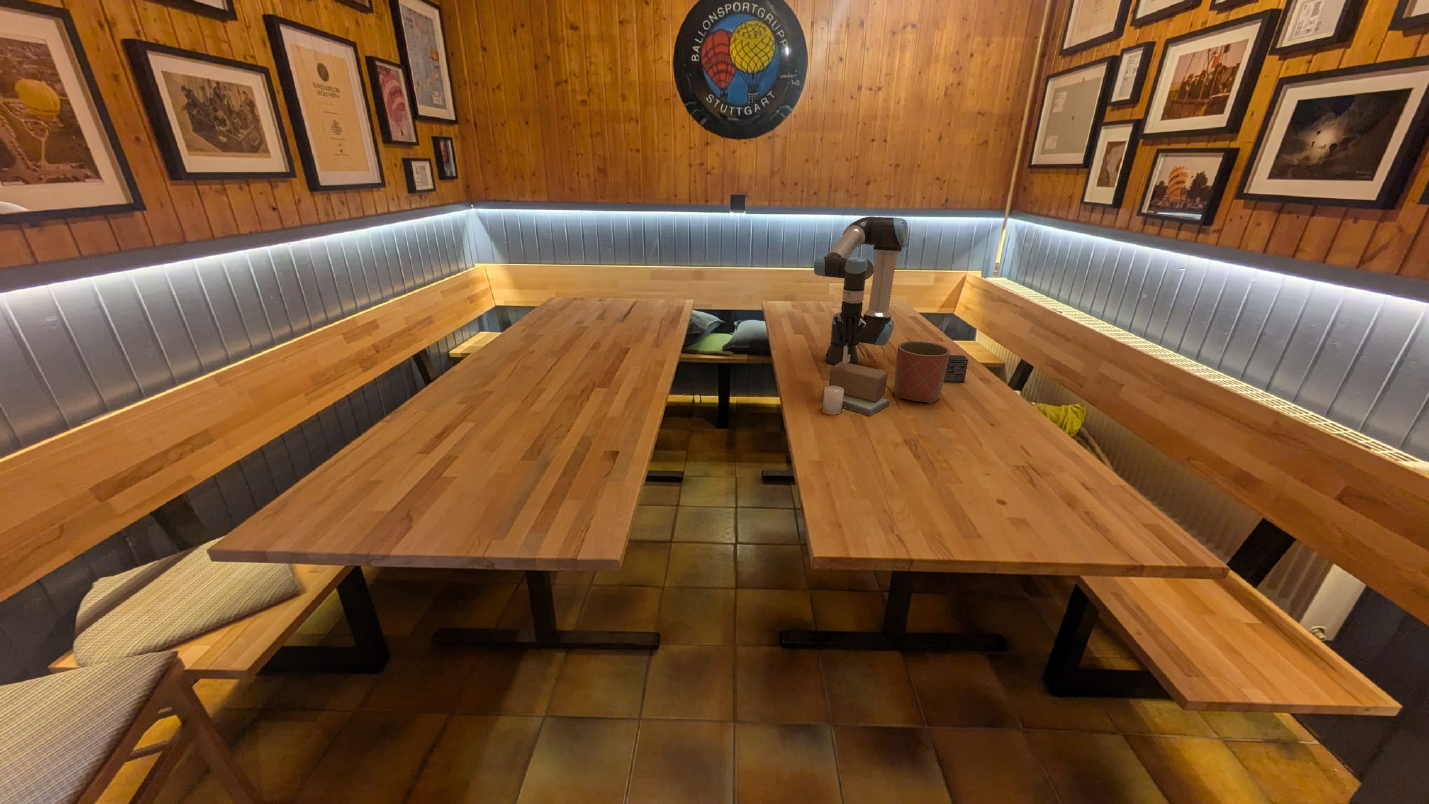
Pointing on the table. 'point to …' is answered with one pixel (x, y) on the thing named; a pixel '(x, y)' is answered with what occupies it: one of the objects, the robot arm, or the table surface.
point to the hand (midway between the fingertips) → (846, 361)
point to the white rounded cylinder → (833, 399)
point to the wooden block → (859, 380)
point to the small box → (956, 369)
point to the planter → (920, 370)
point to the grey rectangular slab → (864, 404)
